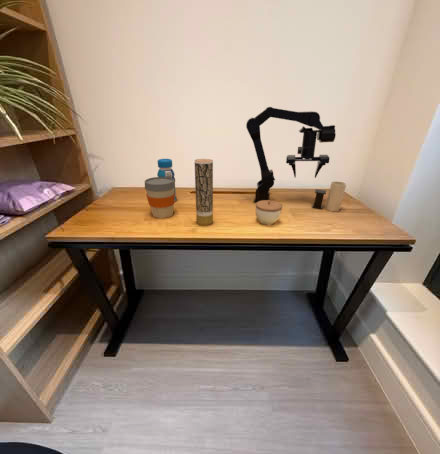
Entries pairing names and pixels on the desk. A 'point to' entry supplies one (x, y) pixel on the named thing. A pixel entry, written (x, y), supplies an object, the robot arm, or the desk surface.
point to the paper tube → (204, 191)
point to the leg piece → (319, 198)
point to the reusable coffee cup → (160, 196)
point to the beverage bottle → (166, 170)
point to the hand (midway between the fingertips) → (304, 177)
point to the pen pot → (335, 196)
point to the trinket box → (268, 211)
